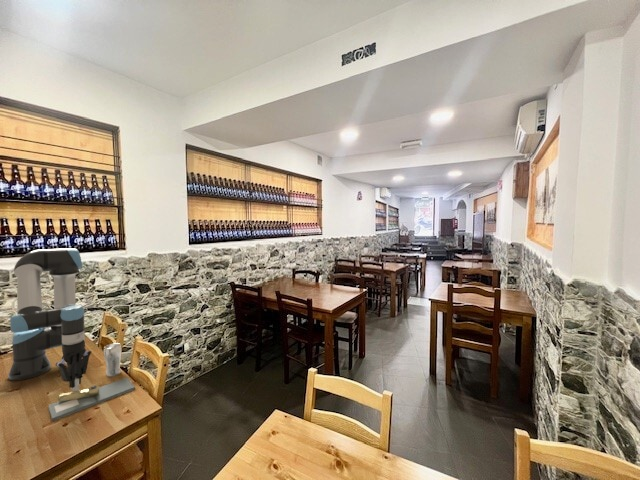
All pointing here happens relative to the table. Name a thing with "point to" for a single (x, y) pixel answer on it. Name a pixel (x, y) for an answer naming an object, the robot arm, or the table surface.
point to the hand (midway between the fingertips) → (75, 392)
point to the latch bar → (79, 394)
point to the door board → (90, 399)
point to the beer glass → (113, 359)
